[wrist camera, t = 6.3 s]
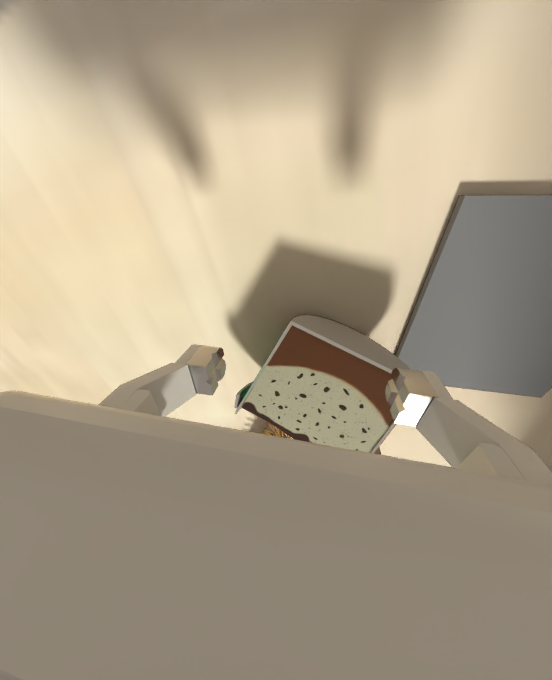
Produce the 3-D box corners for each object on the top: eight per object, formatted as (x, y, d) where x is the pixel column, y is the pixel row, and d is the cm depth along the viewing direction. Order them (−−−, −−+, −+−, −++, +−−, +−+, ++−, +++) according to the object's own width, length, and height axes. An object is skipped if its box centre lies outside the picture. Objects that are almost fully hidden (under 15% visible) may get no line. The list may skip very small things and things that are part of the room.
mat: (731, 194, 10) (752, 194, 10) (535, 392, 18) (541, 397, 17) (459, 195, 12) (465, 195, 11) (387, 375, 20) (389, 379, 19)
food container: (289, 294, 19) (254, 374, 24) (270, 310, 14) (229, 410, 18) (414, 354, 18) (354, 426, 23) (448, 397, 13) (359, 481, 17)
